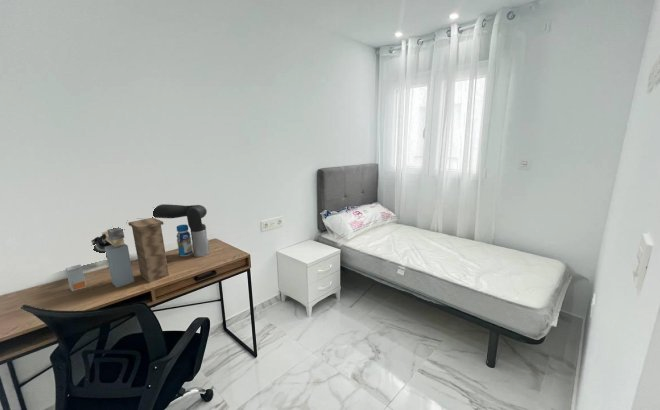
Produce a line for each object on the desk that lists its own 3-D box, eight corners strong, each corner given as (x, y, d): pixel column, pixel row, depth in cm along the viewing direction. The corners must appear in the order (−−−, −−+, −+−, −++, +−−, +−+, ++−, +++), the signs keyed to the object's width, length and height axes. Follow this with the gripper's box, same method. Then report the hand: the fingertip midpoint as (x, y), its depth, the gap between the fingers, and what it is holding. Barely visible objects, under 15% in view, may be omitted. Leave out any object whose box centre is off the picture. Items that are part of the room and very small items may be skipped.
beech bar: (112, 236, 158) (110, 222, 156) (125, 244, 146) (122, 229, 144) (101, 238, 154) (98, 224, 153) (114, 247, 142) (111, 232, 141)
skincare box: (72, 291, 145) (66, 270, 142) (70, 289, 147) (64, 268, 145) (87, 287, 150) (82, 266, 147) (84, 284, 152) (80, 264, 149)
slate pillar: (129, 277, 159) (122, 242, 155) (134, 281, 155) (127, 245, 150) (112, 283, 153) (104, 246, 148) (117, 287, 149) (109, 250, 144)
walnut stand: (160, 268, 170) (152, 217, 162) (171, 275, 161) (163, 221, 154) (138, 276, 160) (128, 222, 153) (148, 284, 152) (138, 227, 144)
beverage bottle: (180, 252, 193) (176, 224, 189) (193, 251, 196) (190, 223, 191) (177, 257, 185) (173, 228, 181) (192, 255, 188) (188, 227, 183)
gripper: (86, 240, 158) (91, 231, 147) (117, 233, 168) (123, 224, 158) (91, 253, 157) (95, 244, 146) (121, 245, 168) (127, 236, 157)
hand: (110, 234), depth 152 cm, fingers closed on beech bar, 4 cm apart
